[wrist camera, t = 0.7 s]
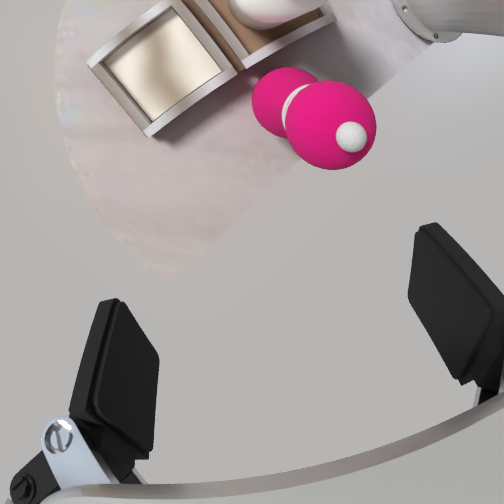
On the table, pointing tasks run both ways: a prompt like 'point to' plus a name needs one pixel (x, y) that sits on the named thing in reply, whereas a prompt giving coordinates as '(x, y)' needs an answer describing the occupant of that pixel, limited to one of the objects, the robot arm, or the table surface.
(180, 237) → the table surface
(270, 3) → the salt shaker
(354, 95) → the pepper mill
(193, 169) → the table surface
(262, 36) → the rail
